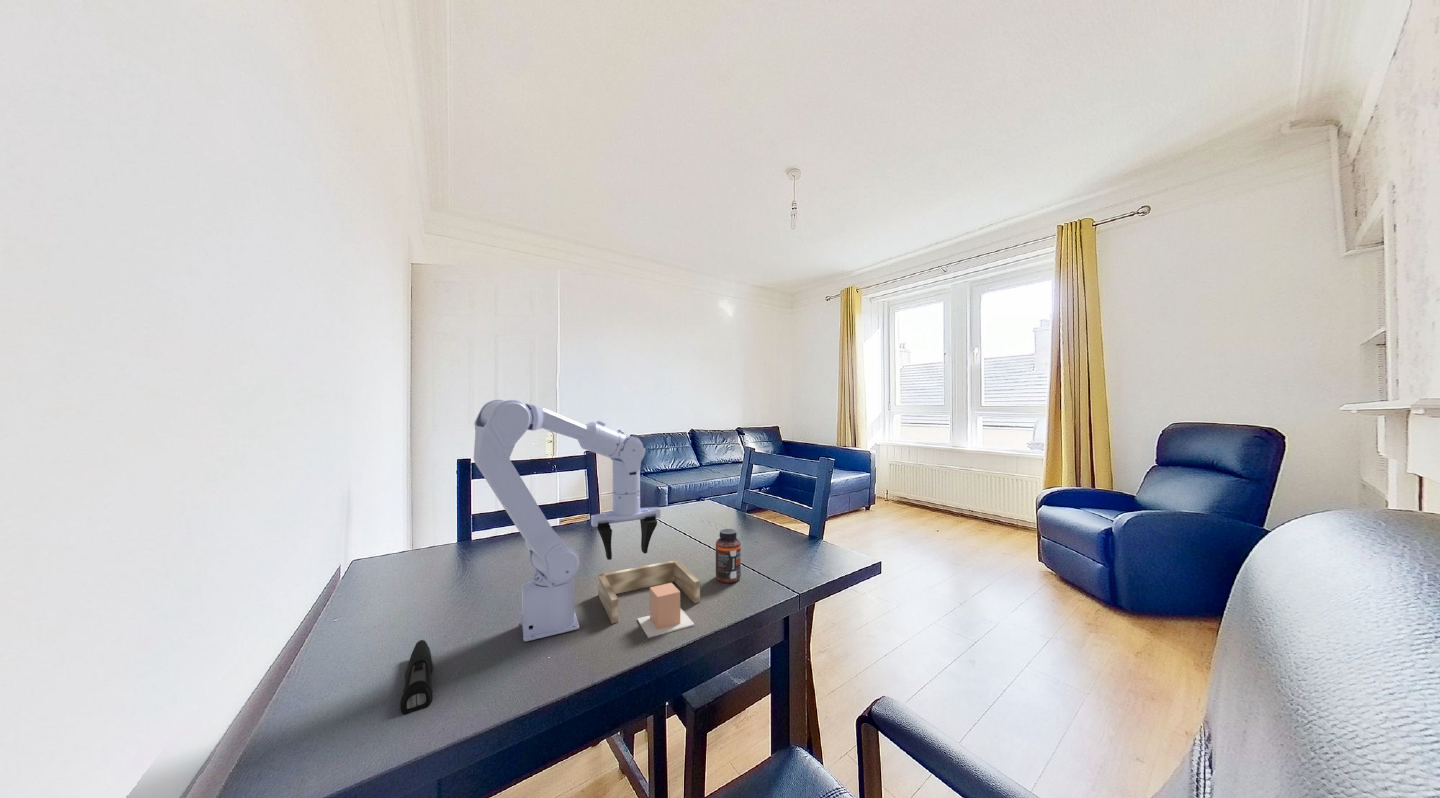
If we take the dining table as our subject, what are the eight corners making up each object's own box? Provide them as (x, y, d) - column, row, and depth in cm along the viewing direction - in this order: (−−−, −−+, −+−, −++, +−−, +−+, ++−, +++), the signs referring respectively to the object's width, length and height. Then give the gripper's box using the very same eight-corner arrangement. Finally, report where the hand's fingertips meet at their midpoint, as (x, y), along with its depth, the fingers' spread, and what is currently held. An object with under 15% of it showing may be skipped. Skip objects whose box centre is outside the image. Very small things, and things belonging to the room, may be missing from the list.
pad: (648, 638, 77) (648, 636, 77) (637, 619, 83) (637, 618, 83) (694, 625, 81) (694, 624, 81) (680, 609, 87) (680, 607, 87)
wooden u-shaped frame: (611, 623, 82) (611, 600, 82) (598, 595, 93) (598, 574, 93) (699, 602, 90) (699, 580, 90) (677, 578, 102) (677, 559, 102)
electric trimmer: (435, 653, 73) (435, 635, 73) (432, 707, 60) (432, 684, 60) (408, 661, 71) (407, 642, 71) (399, 718, 58) (399, 695, 58)
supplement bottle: (741, 584, 99) (740, 535, 99) (715, 584, 99) (715, 535, 99) (740, 573, 105) (740, 527, 104) (716, 573, 105) (715, 527, 105)
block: (657, 629, 79) (657, 597, 79) (650, 618, 83) (649, 587, 83) (680, 623, 81) (680, 591, 81) (671, 612, 85) (671, 582, 85)
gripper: (653, 484, 98) (653, 543, 98) (588, 491, 92) (588, 554, 92) (663, 490, 92) (663, 553, 92) (594, 498, 86) (594, 566, 86)
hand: (626, 555), depth 92 cm, fingers open, 7 cm apart
